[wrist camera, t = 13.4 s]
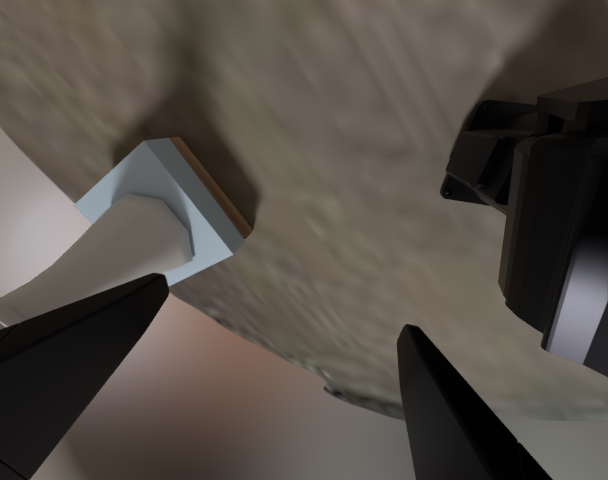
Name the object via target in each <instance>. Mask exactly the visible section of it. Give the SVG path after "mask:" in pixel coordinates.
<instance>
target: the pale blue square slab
mask: <svg viewBox="0 0 608 480" xmlns="http://www.w3.org/2000/svg"><path fill="white" fill-rule="evenodd" d="M126 194H133V195H138V196H144V197H149V198H155V199H160V200H163V202H164V203H165V204H166V205H167V206H168V207H169V209H170V210H171V211H172V212H173V213H174V215H175V216H176V217H177V218H178V219H179V221H180V222H181V223H182V224H183V225H184V227H185V228H186V229H187V230H188V234H189V240H190V246H191V252H192V258H193V261H191V262H189V263H187V264H184V265H182V266H180V267H178V268H176V269H174V270H172V271H170V272H168V273H165V274H164V275H165V276H166V278H167V283H168V287H169V286H171V285H173V284H175V283H177V282H179V281H181V280H183V279H185V278H187V277H189V276H191V275H193V274H195V273H197V272H199V271H201V270H203V269H205V268H207V267H209V266H211V265H213V264H215V263H217V262H219V261H221V260H223V259H225V258H227V257H229V256H232V255H233V254H234V253H235V252H236V251H237V250H238V248H239V247H240V246H241V245H242V244H243V242H244V241H245V239H244V238H243V237H242V235H241V234H240V233H239V231H238V230H237V229H236V227H235V226H234V225H233V223H232V222H231V221H230V219H229V218H228V217H227V215H226V214H225V213H224V211H223V210H222V209H221V207H220V206H219V205H218V203H217V202H216V201H215V199H214V198H213V197H212V195H211V194H210V192H209V191H208V190H207V188H206V187H205V186H204V184H203V183H202V182H201V180H200V179H199V178H198V176H197V175H196V174H195V172H194V171H193V170H192V168H191V167H190V166H189V164H188V163H187V162H186V160H185V159H184V158H183V156H182V155H181V154H180V152H179V151H178V150H177V148H176V147H175V146H174V144H173V143H172V142H171V140H170V139H169V138H161V139H153V140H145V141H143V142H142V143H140V144H139V145H138V146H137V147H136V148H135V149H134V150H133V151H132V152H131V153H130V154H129V155H128V156H126V157H125V158H124V159H123V160H122V161H121V162H120V163H119V164H118V165H117V166H116V167H115V168H114V169H112V170H111V171H110V172H109V173H108V174H107V175H106V176H105V177H104V178H103V179H102V180H101V181H100V182H98V183H97V184H96V185H95V186H94V187H93V188H92V189H91V190H90V191H89V192H88V193H87V194H86V195H84V196H83V197H82V198H81V199H80V200H79V201H78V202H77V203H76V204H75V205H74V206H75V207H76V208H77V209H78V210H79V211H80V212H81V213H82V214H83V215H84V216H85V217H86V218H87V219H88V220H89V221H90V222H91V223H92V224H93V223H94V222H95V221H96V220H97V219H98V218H99V217H100V216H101V215H102V214H103V213H104V212H105V211H106V210H107V209H108V208H110V207H111V206H112V205H113V204H115V203H116V202H117V201H118V200H120V199H121V198H122V197H123V196H125V195H126Z"/></svg>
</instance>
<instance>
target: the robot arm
mask: <svg viewBox="0 0 608 480" xmlns="http://www.w3.org/2000/svg"><path fill="white" fill-rule="evenodd" d="M484 105H487V110H486V112H484V113H482V112H481V109H482V107H483V106H484ZM446 172H447V176H446V178H445V180H444V183H443V185H442V188H441V190H440V194H441V196H442V197H444V198H446V199H451V200H457V201H463V202H470V203H476V204H483V205H489V206H492V207H494V208H495V209H497V210H499V211H500V212H502V213H503V214H505V215H506V223H505V231H504V239H503V247H502V255H501V263H500V271H499V279H498V283H499V286H500V288H501V291H502V293H503V296H504V297H505V298H506V301H505V304H506V306H507V307H508V308H509V309H510V310H511V311H512V312H513V313H514V314H515V315H516V316H517V317H519V318H520V319H522V320H523V321H525V322H526V323H527V324H529V325H530V326H532V327H533V328H535V329H536V330H538V331H540V332H542V333H543V338H542V341H541V347H542V349H544V350H545V351H548V352H550V353H553V354H555V355H558V356H561V357H564V358H566V359H569V360H572V361H575V362H577V363H580V364H583V365H585V366H587V367H589V368H591V369H593V370H595V371H597V372H599V373H601V374H603V375H605V376H607V377H608V77H607V78H604V79H600V80H596V81H592V82H588V83H585V84H581V85H577V86H573V87H569V88H566V89H562V90H558V91H554V92H550V93H547V94H543V95H539V96H538V100H537V105H530V104H521V103H513V102H504V101H496V100H483V101H481V102H479V103H478V104H477V105H476V107H475V108H474V111H473V113H472V116H471V118H470V120H469V123H468V125H467V128H466V130H465V131H464V132H463V133H461V134H460V136H459V138H458V141H457V143H456V146H455V148H454V151H453V153H452V155H451V158H450V160H449V163H448V165H447V168H446ZM448 189H451V192H450V193H449V194H445V193H446V191H447V190H448ZM168 295H169V287H168V283H167V278H166V276H165V275H164V274H160V273H151V274H148V275H145V276H142V277H140V278H137V279H134V280H132V281H129V282H126V283H124V284H121V285H118V286H116V287H113V288H110V289H108V290H105V291H102V292H100V293H97V294H94V295H92V296H89V297H86V298H84V299H81V300H78V301H76V302H73V303H70V304H67V305H65V306H62V307H59V308H57V309H54V310H51V311H49V312H46V313H43V314H41V315H38V316H35V317H33V318H30V319H27V320H25V321H22V322H21V323H16V324H14V325H11V326H8V327H6V328H3V329H0V480H29V479H31V477H32V476H33V475H34V474H35V472H36V471H37V470H38V469H39V467H40V466H41V465H42V463H43V462H44V461H45V459H46V458H47V457H48V456H49V455H50V453H51V452H52V451H53V449H54V448H55V447H56V445H57V444H58V443H59V442H60V440H61V439H62V438H63V437H64V435H65V434H66V433H67V431H68V430H69V429H70V428H71V426H72V425H73V424H74V422H75V421H76V420H77V418H78V417H79V416H80V415H81V413H82V412H83V411H84V410H85V408H86V407H87V406H88V405H89V403H90V402H91V401H92V399H93V398H94V397H95V396H96V394H97V393H98V392H99V390H100V389H101V388H102V387H103V385H104V384H105V382H106V381H107V380H108V379H109V378H110V376H111V375H112V374H113V373H114V371H115V370H116V369H117V367H118V366H119V365H120V363H121V362H122V361H123V360H124V358H125V357H126V356H127V354H128V353H129V352H130V351H131V350H132V348H133V347H134V346H135V344H136V343H137V342H138V341H139V339H140V338H141V337H142V335H143V334H144V332H145V331H146V330H147V328H148V327H149V325H150V324H151V322H152V321H153V319H154V317H155V316H156V314H157V313H158V311H159V310H160V308H161V307H162V305H163V303H164V301H165V300H166V299H167V297H168ZM397 353H398V367H399V381H400V392H401V398H402V404H403V410H404V415H405V421H406V426H407V432H408V437H409V443H410V449H411V454H412V460H413V466H414V471H415V477H416V480H553V479H552V478H551V477H550V476H549V475H548V474H547V473H546V471H545V470H544V469H543V468H542V467H541V466H540V465H539V464H538V462H537V461H536V460H535V459H534V458H533V457H532V456H531V455H530V453H529V452H528V451H527V450H526V449H525V448H524V447H523V445H522V444H521V443H519V442H518V441H517V439H516V437H515V436H514V435H513V434H512V433H511V432H510V431H509V429H508V428H507V427H506V426H505V425H504V424H503V423H502V422H501V421H500V419H499V418H498V417H497V416H496V415H495V413H494V412H493V411H492V410H491V409H490V408H489V407H488V405H487V404H486V403H485V402H484V401H483V400H482V399H481V397H480V396H479V395H478V394H477V393H476V392H475V391H474V389H473V388H472V387H471V386H470V385H469V384H468V383H467V381H466V380H465V379H464V378H463V377H462V376H461V375H460V373H459V372H458V371H457V370H456V369H455V368H454V367H453V365H452V364H451V363H450V362H449V361H448V360H447V359H446V357H445V356H444V355H443V354H442V353H441V352H440V351H439V349H438V348H437V347H436V346H435V345H434V344H433V342H432V341H431V340H430V339H429V338H428V337H427V336H426V334H425V333H424V332H423V331H422V330H421V329H420V328H419V327H418V326H415V325H410V324H406V325H404V327H403V329H402V331H401V333H400V335H399V338H398V340H397Z"/></svg>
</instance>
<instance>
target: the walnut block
mask: <svg viewBox="0 0 608 480" xmlns="http://www.w3.org/2000/svg"><path fill="white" fill-rule="evenodd" d="M169 139H170V140H171V142H172V143H173V144H174V146H175V147H176V148H177V150H178V151H179V152H180V154H181V155H182V156H183V158H184V159H185V160H186V162H187V163H188V164H189V166H190V167H191V168H192V170H193V171H194V172H195V174H196V175H197V176H198V178H199V179H200V180H201V182H202V183H203V184H204V186H205V187H206V188H207V190H208V191H209V192H210V194H211V195H212V197H213V198H214V199H215V201H216V202H217V203H218V205H219V206H220V207H221V209H222V210H223V211H224V213H225V214H226V215H227V217H228V218H229V219H230V221H231V222H232V223H233V225H234V226H235V227H236V229H237V230H238V231H239V233H240V234H241V235H242V237H243V238H244V239H246V238H247V237H248V236H249V235H250V233H251V232H252V231H253V229H252V228H251V227H250V226H249V224H248V223H247V222H246V221H245V219H244V218H243V217H242V215H241V214H240V213H239V212H238V210H237V209H236V208H235V207H234V205H233V204H232V203H231V202H230V200H229V199H228V198H227V196H226V195H225V194H224V193H223V191H222V190H221V189H220V188H219V186H218V185H217V184H216V182H215V181H214V180H213V179H212V177H211V176H210V175H209V174H208V172H207V171H206V170H205V168H204V167H203V166H202V165H201V163H200V162H199V161H198V160H197V158H196V157H195V156H194V154H193V153H192V152H191V151H190V149H189V148H188V147H187V146H186V144H185V143H184V142H183V140H182V139H181V138H180V137H172V138H169Z"/></svg>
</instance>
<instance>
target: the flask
mask: <svg viewBox="0 0 608 480" xmlns="http://www.w3.org/2000/svg"><path fill="white" fill-rule="evenodd" d="M191 261H193V258H192V252H191V246H190V240H189V234H188V230H187V229H186V228H185V227H184V225H183V224H182V223H181V222H180V221H179V219H178V218H177V217H176V216H175V215H174V213H173V212H172V211H171V210H170V209H169V207H168V206H167V205H166V204H165V203H164V202H163V200H160V199H155V198H149V197H144V196H138V195H133V194H126V195H125V196H123V197H122V198H121V199H120V200H118V201H117V202H116V203H115V204H113V205H112V206H111V207H110V208H108V209H107V210H106V211H105V212H104V213H103V214H102V215H101V216H100V217H99V218H98V219H97V220H96V221H95V222H94V223H93V225H92V226H91V227H90V228H89V229H88V230H87V231H86V232H85V233H84V234H83V235H82V236H81V238H79V240H77V241H76V242H75V243H74V244H73V245H72V246H71V247H70V248H69V249H68V250H67V251H66V252H65V253H64V254H63V255H62V256H61V257H60V258H59V259H58V260H57V261H56V262H55V263H54V264H53V265H52V266H50V267H49V268H48V269H46V270H45V271H43V272H42V273H41V274H39V275H38V276H37V277H35V278H34V279H33V280H31V281H30V282H28V283H26V284H25V285H23V286H21V287H19V288H18V289H16V290H14V291H12V292H10V293H8V294H7V295H5V296H3V297H1V298H0V329H3V328H6V327H8V326H11V325H14V324H16V323H21V322H22V321H25V320H27V319H30V318H33V317H35V316H38V315H41V314H43V313H46V312H49V311H51V310H54V309H57V308H59V307H62V306H65V305H67V304H70V303H73V302H76V301H78V300H81V299H84V298H86V297H89V296H92V295H94V294H97V293H100V292H102V291H105V290H108V289H110V288H113V287H116V286H118V285H121V284H124V283H126V282H129V281H132V280H134V279H137V278H140V277H142V276H145V275H148V274H151V273H160V274H165V273H168V272H170V271H172V270H174V269H176V268H178V267H180V266H182V265H184V264H187V263H189V262H191Z"/></svg>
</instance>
